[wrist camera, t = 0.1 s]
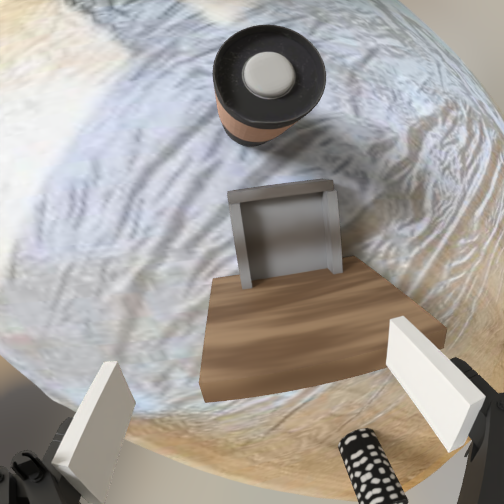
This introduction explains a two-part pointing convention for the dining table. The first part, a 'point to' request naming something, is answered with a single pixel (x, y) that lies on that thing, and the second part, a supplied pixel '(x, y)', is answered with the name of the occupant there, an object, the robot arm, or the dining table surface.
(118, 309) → the dining table surface
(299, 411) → the dining table surface
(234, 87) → the travel mug
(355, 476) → the white-spotted black cylinder
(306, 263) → the l-shaped stand
